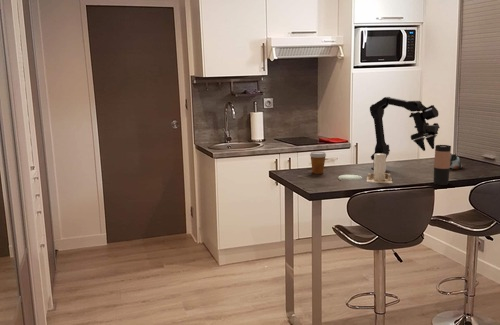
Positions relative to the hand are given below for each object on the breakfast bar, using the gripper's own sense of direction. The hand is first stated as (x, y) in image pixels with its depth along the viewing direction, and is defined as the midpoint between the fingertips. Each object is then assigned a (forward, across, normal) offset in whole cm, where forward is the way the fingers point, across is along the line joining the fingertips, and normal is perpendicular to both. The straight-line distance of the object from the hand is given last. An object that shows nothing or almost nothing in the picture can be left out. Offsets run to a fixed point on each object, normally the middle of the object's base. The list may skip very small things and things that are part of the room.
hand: (428, 149), depth 260 cm
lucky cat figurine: (+13, +35, +11) cm, 39 cm away
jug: (+9, -29, +16) cm, 34 cm away
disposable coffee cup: (-4, -34, +53) cm, 63 cm away
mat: (+4, -33, +31) cm, 46 cm away
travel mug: (+19, -8, -5) cm, 21 cm away
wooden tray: (+10, -28, +17) cm, 34 cm away
